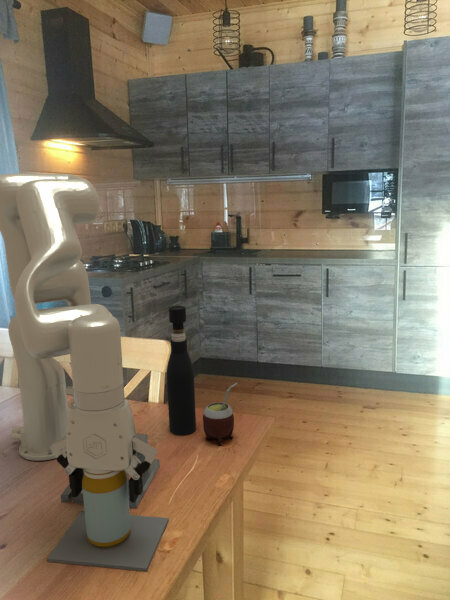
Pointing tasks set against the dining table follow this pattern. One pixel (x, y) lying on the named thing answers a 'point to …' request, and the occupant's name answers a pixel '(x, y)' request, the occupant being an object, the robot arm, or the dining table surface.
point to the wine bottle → (180, 378)
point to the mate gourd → (219, 420)
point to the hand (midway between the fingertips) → (106, 494)
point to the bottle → (106, 506)
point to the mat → (122, 556)
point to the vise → (146, 478)
